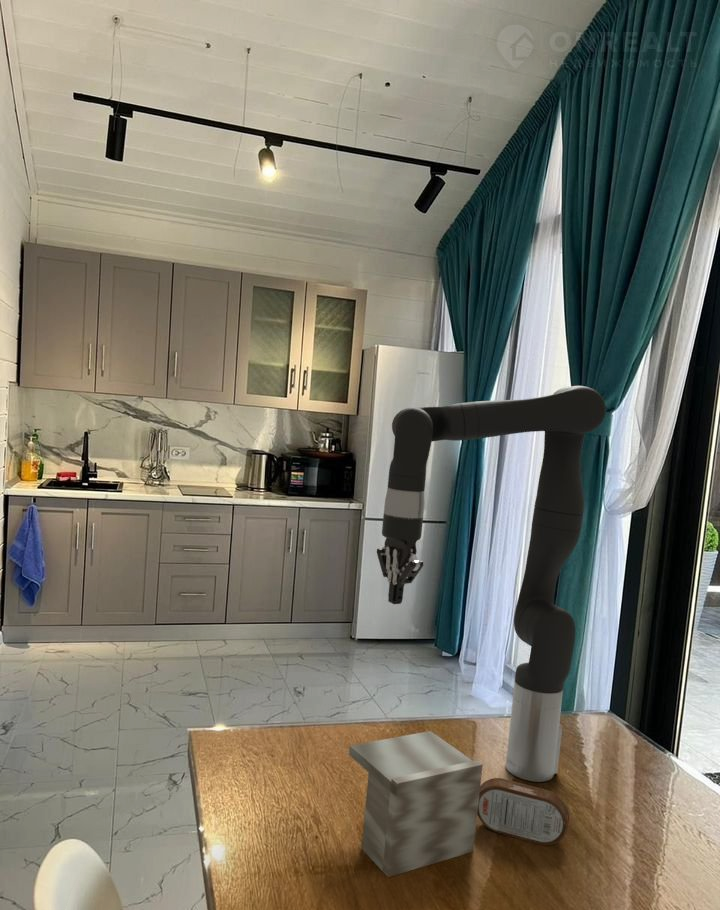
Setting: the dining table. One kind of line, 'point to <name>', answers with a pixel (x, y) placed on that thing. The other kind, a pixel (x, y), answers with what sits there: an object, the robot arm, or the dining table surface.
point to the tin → (522, 811)
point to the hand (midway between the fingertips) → (394, 602)
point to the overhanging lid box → (417, 801)
